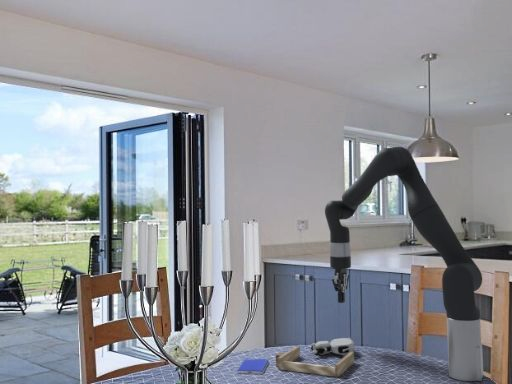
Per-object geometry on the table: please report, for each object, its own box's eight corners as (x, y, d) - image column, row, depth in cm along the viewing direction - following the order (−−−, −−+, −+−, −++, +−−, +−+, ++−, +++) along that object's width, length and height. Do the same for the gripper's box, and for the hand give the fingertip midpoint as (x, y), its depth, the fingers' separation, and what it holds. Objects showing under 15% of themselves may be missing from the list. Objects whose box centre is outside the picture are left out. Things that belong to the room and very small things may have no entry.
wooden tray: (354, 362, 173) (353, 352, 173) (338, 376, 160) (338, 365, 160) (291, 355, 184) (291, 345, 184) (272, 368, 170) (271, 357, 170)
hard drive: (244, 358, 178) (236, 369, 166) (268, 359, 177) (262, 370, 165) (244, 363, 178) (236, 375, 166) (268, 363, 177) (262, 375, 164)
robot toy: (312, 361, 180) (357, 357, 179) (311, 348, 180) (355, 344, 179) (311, 351, 192) (353, 348, 191) (309, 339, 192) (351, 335, 191)
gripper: (344, 256, 188) (345, 306, 188) (355, 253, 200) (356, 300, 199) (324, 256, 192) (325, 304, 191) (336, 253, 203) (337, 298, 203)
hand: (341, 302), depth 195 cm, fingers closed
